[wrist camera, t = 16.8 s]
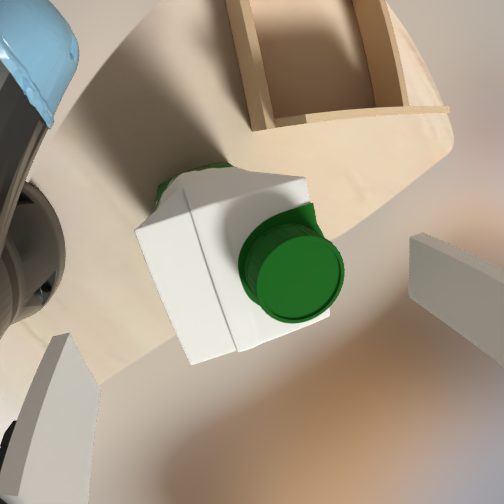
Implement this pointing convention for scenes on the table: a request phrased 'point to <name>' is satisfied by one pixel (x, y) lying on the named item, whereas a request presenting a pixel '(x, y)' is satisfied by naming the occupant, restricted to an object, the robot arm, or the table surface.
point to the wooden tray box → (378, 58)
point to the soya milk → (238, 258)
